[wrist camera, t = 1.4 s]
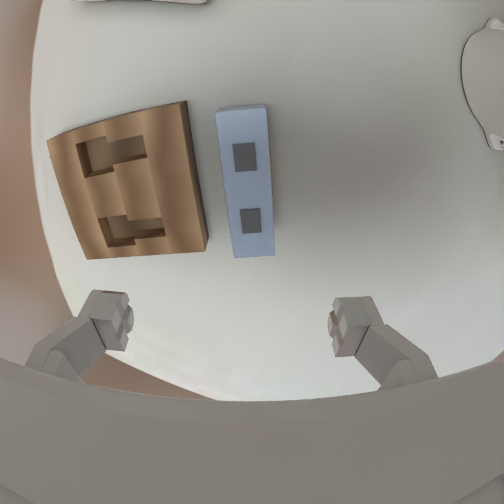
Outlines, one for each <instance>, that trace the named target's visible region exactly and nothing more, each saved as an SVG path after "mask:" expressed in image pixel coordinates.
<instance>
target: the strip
mask: <svg viewBox="0 0 504 504" xmlns="http://www.w3.org/2000/svg"><path fill="white" fill-rule="evenodd" d="M215 118H216V126H217V134H218V142H219V150H220V158H221V166H222V174H223V181H224V189H225V196H226V203H227V211H228V218H229V225H230V232H231V239H232V246H233V253H234V258H242V257H257V256H273V255H275V246H274V225H273V207H272V189H271V172H270V157H269V142H268V128H267V114H266V107H265V104H258V105H245V106H234V107H224V108H219V109H218V110H217V111H216V112H215Z"/></svg>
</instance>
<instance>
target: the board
mask: <svg viewBox="0 0 504 504" xmlns="http://www.w3.org/2000/svg"><path fill="white" fill-rule="evenodd" d="M47 145H48V149H49V153H50V157H51V161H52V164H53V168H54V171H55V175H56V178H57V181H58V184H59V188H60V191H61V194H62V197H63V200H64V203H65V205H66V208H67V211H68V214H69V217H70V219H71V222H72V225H73V227H74V230H75V232H76V235H77V237H78V240H79V242H80V245H81V247H82V249H83V252H84V254H85V256H86V259H87V260H89V259H103V258H117V257H131V256H145V255H160V254H174V253H189V252H203V251H205V250H206V246H207V242H208V238H209V236H208V231H207V225H206V220H205V214H204V209H203V203H202V197H201V191H200V186H199V180H198V174H197V168H196V161H195V155H194V149H193V142H192V136H191V129H190V122H189V115H188V108H187V101H183V102H177V103H172V104H167V105H162V106H157V107H152V108H147V109H143V110H139V111H134V112H130V113H126V114H123V115H119V116H115V117H111V118H108V119H104V120H101V121H98V122H94V123H91V124H88V125H85V126H82V127H79V128H76V129H73V130H70V131H67V132H64V133H62V134H59V135H57V136H55V137H53V138H51V139H49V140H47Z"/></svg>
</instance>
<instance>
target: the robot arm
mask: <svg viewBox="0 0 504 504" xmlns="http://www.w3.org/2000/svg"><path fill="white" fill-rule="evenodd" d="M462 80H463V86H464V91H465V94H466V98H467V101H468V103H469V106H470V108H471V110H472V112H473V114H474V116H475V117H476V119H477V120H478V121H479V123H480V124H481V125H482V127H483V129H484V131H485V135H486V138H487V141H488V144H489V146H490V148H492V149H494V150H504V24H503V23H502V22H501V21H499V20H498V19H493V18H491V19H489V20H488V22H487V24H486V26H485V28H484V29H483V30H481V31H478V32H476V33H474V34H473V35H472V36H471V37H470V38H469V40H468V41H467V43H466V45H465V48H464V52H463V57H462ZM128 302H129V297H128V295H127V293H124V292H114V291H101V290H93V291H91V292H90V294H89V296H88V298H87V300H86V302H85V303H84V305H83V307H82V309H81V311H80V313H79V315H78V317H73V318H72V319H70V320H69V321H68V322H66V323H65V324H63V325H62V326H60V327H59V328H58V329H56V330H55V331H53V332H52V333H50V334H49V335H48V336H46V337H45V338H43V339H42V340H41V341H39V342H38V343H37V344H35V346H34V348H33V350H32V352H31V354H30V356H29V358H28V360H27V362H26V364H25V366H22V365H19V364H16V363H13V362H10V361H8V360H5V359H2V358H0V504H504V362H502V361H499V360H495V361H491V362H488V363H486V364H483V365H480V366H477V367H474V368H471V369H468V370H464V371H461V372H458V373H454V374H451V375H447V376H444V377H440V378H438V376H437V374H436V372H435V369H434V367H433V365H432V363H431V360H430V358H429V356H428V355H427V354H426V353H425V352H423V351H422V350H421V349H419V348H418V347H417V346H415V345H414V344H413V343H411V342H410V341H409V340H407V339H406V338H405V337H404V336H402V335H401V334H400V333H398V332H397V331H396V330H394V329H393V328H392V327H390V326H389V325H384V323H383V320H382V318H381V316H380V314H379V312H378V309H377V307H376V305H375V303H374V301H373V299H372V297H370V296H364V297H340V298H335V299H334V301H333V304H332V306H333V309H334V310H333V311H332V312H330V314H329V318H328V331H329V335H330V336H331V337H332V338H333V342H332V347H333V350H334V354H335V357H345V356H355V358H356V359H357V360H358V361H359V362H360V363H361V364H362V365H363V366H364V367H365V368H366V370H367V371H368V372H369V373H370V374H371V375H372V376H373V377H374V378H375V379H376V380H377V381H378V382H379V383H380V384H381V386H380V388H379V389H378V390H377V391H374V392H367V393H360V394H353V395H345V396H337V397H327V398H316V399H303V400H285V401H215V400H198V399H184V398H174V397H163V396H155V395H148V394H141V393H134V392H128V391H122V390H116V389H110V388H105V387H100V386H95V385H91V384H86V383H83V382H82V380H81V379H80V378H79V377H80V376H81V375H82V374H83V373H84V372H85V371H86V370H87V369H88V368H89V367H90V366H91V365H92V364H93V363H94V362H95V361H96V360H97V359H98V358H99V357H100V356H101V355H102V354H103V353H104V352H105V351H106V349H107V350H115V351H125V348H126V345H127V342H128V339H129V338H128V336H127V334H128V333H129V332H130V331H131V330H132V327H133V322H134V315H133V310H132V308H131V307H130V306H129V305H128Z"/></svg>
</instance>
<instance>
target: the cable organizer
mask: <svg viewBox="0 0 504 504" xmlns="http://www.w3.org/2000/svg"><path fill="white" fill-rule="evenodd" d="M75 1H104V0H75ZM154 1H169V2H180V3H191V4H200V3H205V2H206V1H207V0H154Z"/></svg>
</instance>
